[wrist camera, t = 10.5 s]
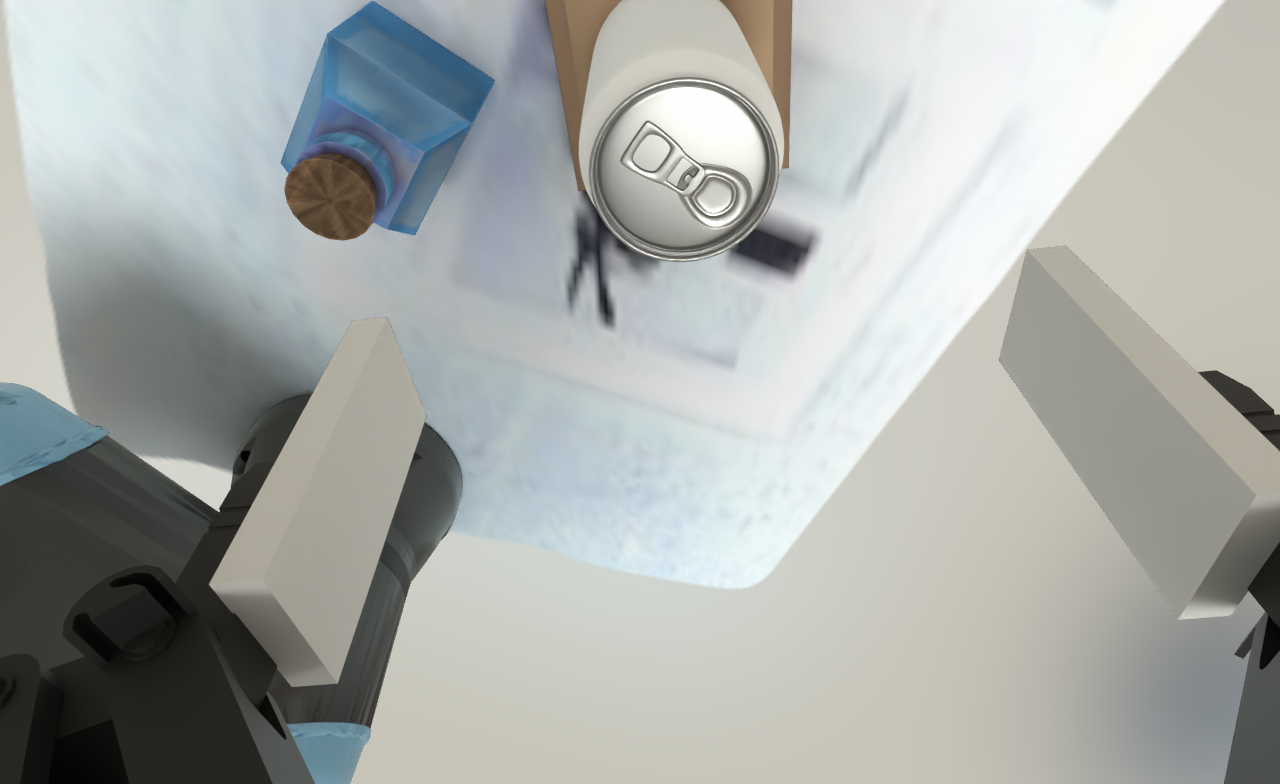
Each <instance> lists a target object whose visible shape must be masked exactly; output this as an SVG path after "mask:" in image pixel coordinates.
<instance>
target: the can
mask: <svg viewBox="0 0 1280 784" xmlns="http://www.w3.org/2000/svg"><path fill="white" fill-rule="evenodd" d="M783 156H784V135H783V127H782V122H781V117H780V114H779V111H778V108H777V105H776V102H775V100H774V98H773V95H772V93H771V91H770V89H769V86H768V84H767V82H766V80H765V78H764V76H763V74H762V72H761V70H760V68H759V65H758V63H757V61H756V59H755V57H754V55H753V53H752V51H751V49H750V47H749V45H748V43H747V41H746V39H745V37H744V35H743V33H742V31H741V29H740V27H739V25H738V24H737V22H736V20H735V19H734V17H733V15H732V14H731V12H730V11H729V10H728V9H727V7H726V6H725V5H724V4H723V3H722V2H721V1H720V0H622V1H621V2H620V3H619V4H618V5H617V6H616V7H615V8H614V9H613V10H612V11H611V13H610V14H609V16H608V17H607V19H606V20H605V22H604V24H603V25H602V27H601V30H600V32H599V34H598V37H597V40H596V43H595V47H594V52H593V56H592V62H591V67H590V73H589V78H588V84H587V90H586V96H585V102H584V108H583V114H582V121H581V128H580V137H579V162H580V169H581V174H582V179H583V182H584V185H585V188H586V190H587V193H588V195H589V197H590V199H591V201H592V202H593V204H594V206H595V207H596V209H597V211H598V213H599V215H600V217H601V219H602V220H603V222H604V223H605V225H606V226H607V227H608V229H609V230H610V231H611V232H612V233H613V234H614V235H615V236H616V237H617V238H618V239H619V240H620V241H622V242H623V243H624V244H625V245H627V246H628V247H630V248H632V249H633V250H635V251H637V252H639V253H641V254H643V255H646V256H649V257H652V258H655V259H659V260H664V261H672V262H689V261H697V260H702V259H706V258H709V257H712V256H715V255H718V254H720V253H722V252H724V251H726V250H728V249H730V248H732V247H733V246H735V245H737V244H738V243H739V242H741V241H742V240H743V239H744V238H746V237H747V236H748V235H749V234H750V233H751V232H752V231H753V230H754V229H755V228H756V227H757V225H758V224H759V223H760V222H761V220H762V219H763V217H764V216H765V214H766V213H767V211H768V209H769V207H770V205H771V203H772V200H773V198H774V195H775V192H776V188H777V184H778V178H779V175H780V172H781V168H782V163H783Z"/></svg>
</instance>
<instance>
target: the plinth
mask: <svg viewBox="0 0 1280 784" xmlns="http://www.w3.org/2000/svg"><path fill="white" fill-rule="evenodd" d="M621 1H622V0H545V3H546V9H547V14H548V20H549V26H550V32H551V37H552V43H553V49H554V54H555V60H556V66H557V72H558V77H559V83H560V89H561V95H562V100H563V106H564V112H565V117H566V123H567V129H568V135H569V140H570V146H571V152H572V158H573V163H574V169H575V175H576V180H577V186H578V191H583V190H586V188H585V185H584V182H583V179H582V174H581V169H580V162H579V137H580V128H581V121H582V114H583V108H584V102H585V96H586V90H587V84H588V78H589V73H590V67H591V62H592V56H593V52H594V47H595V43H596V40H597V37H598V34H599V32H600V30H601V27H602V25H603V24H604V22H605V20H606V19H607V17H608V16H609V14H610V13H611V11H612V10H613V9H614V8H615V7H616V6H617V5H618V4H619V3H620V2H621ZM720 1H721V2H722V3H723V4H724V5H725V6H726V7H727V9H728V10H729V11H730V12H731V14H732V15H733V17H734V19H735V20H736V22H737V24H738V25H739V27H740V29H741V31H742V33H743V35H744V37H745V39H746V41H747V43H748V45H749V47H750V49H751V51H752V53H753V55H754V57H755V59H756V61H757V63H758V65H759V68H760V70H761V72H762V74H763V76H764V78H765V80H766V82H767V84H768V86H769V89H770V91H771V93H772V95H773V98H774V100H775V102H776V105H777V108H778V111H779V114H780V117H781V122H782V127H783V135H784V156H783V163H782V168H781V169H783V168H789V125H790V78H791V30H792V0H720Z"/></svg>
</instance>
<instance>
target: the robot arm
mask: <svg viewBox="0 0 1280 784" xmlns="http://www.w3.org/2000/svg"><path fill="white" fill-rule="evenodd" d="M999 361H1000V363H1001V364H1002V366H1003V367H1004V369H1005V370H1006V371H1007V373H1008V374H1009V376H1010V377H1011V379H1012V380H1013V381H1014V383H1015V384H1016V386H1017V387H1018V389H1019V390H1020V392H1021V393H1022V394H1023V396H1024V397H1025V399H1026V400H1027V402H1028V403H1029V405H1030V406H1031V408H1032V409H1033V410H1034V412H1035V413H1036V415H1037V416H1038V418H1039V419H1040V420H1041V422H1042V423H1043V425H1044V426H1045V428H1046V429H1047V430H1048V432H1049V433H1050V435H1051V436H1052V438H1053V439H1054V441H1055V442H1056V444H1057V445H1058V447H1059V448H1060V449H1061V451H1062V452H1063V454H1064V455H1065V457H1066V458H1067V459H1068V461H1069V462H1070V464H1071V465H1072V467H1073V468H1074V470H1075V471H1076V473H1077V474H1078V475H1079V477H1080V478H1081V480H1082V481H1083V483H1084V484H1085V485H1086V487H1087V488H1088V490H1089V491H1090V493H1091V494H1092V496H1093V497H1094V499H1095V500H1096V501H1097V503H1098V504H1099V506H1100V507H1101V508H1102V510H1103V511H1104V513H1105V514H1106V516H1107V517H1108V519H1109V520H1110V522H1111V523H1112V525H1113V526H1114V527H1115V529H1116V530H1117V532H1118V533H1119V535H1120V536H1121V537H1122V539H1123V540H1124V542H1125V543H1126V545H1127V546H1128V548H1129V549H1130V551H1131V552H1132V553H1133V555H1134V556H1135V558H1136V559H1137V560H1138V562H1139V564H1140V565H1141V566H1142V568H1143V569H1144V571H1145V572H1146V574H1147V575H1148V577H1149V578H1150V579H1151V581H1152V582H1153V584H1154V585H1155V587H1156V588H1157V590H1158V591H1159V592H1160V594H1161V595H1162V597H1163V598H1164V600H1165V601H1166V602H1167V604H1168V605H1169V607H1170V608H1171V610H1172V611H1173V612H1174V614H1175V616H1176V617H1177V618H1178V619H1192V618H1204V617H1218V616H1231V615H1232V613H1233V612H1234V610H1235V609H1236V608H1237V606H1238V605H1239V603H1240V602H1241V600H1242V599H1243V597H1244V596H1245V595H1246V593H1247V592H1248V591H1249V592H1250V593H1251V594H1252V595H1253V597H1254V598H1255V599H1256V600H1257V601H1258V603H1259V604H1260V605H1261V606H1262V608H1263V609H1264V610H1265V611H1266V612H1265V613H1264V614H1263V616H1262V617H1261V618H1260V620H1259V621H1258V622H1257V624H1256V625H1255V626H1254V628H1253V629H1252V630H1251V632H1250V633H1249V634H1248V636H1247V637H1246V638H1245V639H1244V641H1243V642H1242V643H1241V645H1240V646H1239V648H1238V650H1237V651H1236V653H1235V655H1236V656H1239V657H1241V658H1244V657H1245V656H1246V654H1247V653H1248V652H1249V651H1250V649H1251V652H1250V657H1249V662H1248V667H1247V673H1246V677H1245V682H1244V687H1243V692H1242V697H1241V702H1240V707H1239V712H1238V717H1237V722H1236V727H1235V732H1234V736H1233V741H1232V746H1231V751H1230V757H1229V761H1228V766H1227V771H1226V776H1225V781H1224V784H1280V415H1275V414H1274V409H1272V408H1271V407H1270V406H1269V405H1268V404H1267V403H1266V402H1265V401H1264V400H1262V399H1261V398H1260V397H1259V396H1258V395H1257V394H1256V393H1255V392H1254V391H1253V390H1252V389H1250V388H1249V387H1247V386H1244V385H1243V384H1241V383H1239V382H1237V381H1235V380H1234V379H1231V378H1230V377H1228V376H1226V375H1224V374H1222V373H1220V372H1218V371H1205V372H1197V371H1196V370H1195V369H1194V368H1193V367H1192V366H1191V365H1190V364H1189V363H1188V362H1187V361H1186V360H1184V359H1183V358H1182V357H1181V356H1180V355H1179V354H1178V353H1177V352H1176V351H1175V350H1174V349H1173V348H1172V347H1171V346H1170V345H1169V344H1168V343H1167V342H1166V341H1165V340H1164V339H1163V338H1162V337H1160V335H1159V334H1157V333H1156V332H1155V331H1154V330H1153V329H1152V328H1151V327H1150V326H1149V325H1148V324H1147V323H1146V322H1145V321H1144V320H1143V319H1142V318H1141V317H1140V316H1139V315H1138V314H1137V313H1136V312H1135V311H1134V310H1133V309H1131V307H1129V306H1128V305H1127V304H1126V303H1125V302H1124V301H1123V300H1122V299H1121V298H1120V297H1119V296H1118V295H1117V294H1116V293H1115V292H1114V291H1113V290H1112V289H1111V288H1110V287H1109V286H1108V285H1107V284H1106V283H1104V281H1103V280H1101V279H1100V278H1099V277H1098V276H1097V275H1096V274H1095V273H1094V272H1093V271H1092V270H1091V269H1090V268H1089V267H1088V266H1087V265H1086V264H1085V263H1084V262H1083V261H1082V260H1081V259H1080V258H1079V257H1078V256H1077V255H1076V254H1075V253H1073V252H1072V251H1071V250H1070V249H1069V248H1068V247H1067V246H1056V247H1047V248H1037V249H1027V251H1026V255H1025V259H1024V263H1023V266H1022V271H1021V274H1020V278H1019V282H1018V286H1017V290H1016V294H1015V298H1014V302H1013V306H1012V310H1011V314H1010V317H1009V321H1008V325H1007V329H1006V333H1005V337H1004V341H1003V345H1002V349H1001V353H1000V357H999ZM425 419H426V413H425V411H424V408H423V406H422V403H421V400H420V398H419V395H418V393H417V390H416V388H415V385H414V383H413V380H412V378H411V375H410V373H409V370H408V368H407V365H406V363H405V360H404V358H403V355H402V353H401V350H400V348H399V345H398V342H397V340H396V337H395V335H394V332H393V330H392V327H391V325H390V322H389V320H388V317H384V318H375V319H366V320H356V321H352V322H351V324H350V326H349V328H348V329H347V331H346V333H345V335H344V337H343V339H342V340H341V342H340V344H339V346H338V348H337V350H336V351H335V353H334V355H333V357H332V359H331V361H330V363H329V364H328V366H327V368H326V370H325V372H324V374H323V375H322V377H321V379H320V381H319V383H318V385H317V386H316V388H315V390H314V392H313V394H311V395H304V396H299V397H295V398H292V399H289V400H286V401H283V402H281V403H279V404H277V405H275V406H273V407H271V408H270V409H268V410H267V411H266V412H264V413H263V414H262V415H261V416H260V417H259V418H258V419H257V420H256V422H255V423H254V424H253V426H252V428H251V429H250V431H249V433H248V434H247V436H246V437H245V439H244V441H243V442H242V444H241V446H240V448H239V450H238V452H237V455H236V458H235V461H234V467H233V477H232V483H231V490H230V491H229V493H228V494H227V496H226V498H225V500H224V501H223V503H222V505H221V506H220V508H219V509H220V512H218V511H216V510H215V509H213V508H212V507H210V506H209V505H207V504H206V503H204V502H203V501H202V500H200V499H199V498H197V497H196V496H194V495H193V494H191V493H190V492H188V491H187V490H186V489H184V488H183V487H181V486H180V485H178V484H177V483H175V482H174V481H173V480H171V479H170V478H168V477H166V476H165V475H164V474H162V473H161V472H159V471H158V470H157V469H155V468H154V467H152V466H151V465H149V464H148V463H146V462H145V461H143V460H142V459H141V458H139V457H138V456H136V455H135V454H133V453H132V452H130V451H129V450H128V449H126V448H125V447H123V446H122V445H120V444H119V443H117V442H116V441H114V440H113V439H112V438H110V437H109V436H107V435H108V434H109V431H108V430H106V429H105V428H104V427H102V426H92V425H90V424H89V423H87V422H86V421H84V420H82V419H81V418H79V417H78V416H76V415H74V414H73V413H71V412H69V411H68V410H66V409H65V408H63V407H61V406H60V405H58V404H57V403H55V402H53V401H52V400H50V399H48V398H47V397H45V396H44V395H42V394H40V393H39V392H37V391H35V390H33V389H31V388H28V387H25V386H22V385H18V384H13V383H0V784H350V783H351V780H352V777H353V774H354V772H355V769H356V766H357V763H358V760H359V758H360V755H361V752H362V750H363V747H364V745H365V744H366V743H367V742H368V740H369V738H370V731H371V730H370V728H371V724H372V720H373V717H374V713H375V709H376V706H377V702H378V698H379V695H380V691H381V687H382V684H383V680H384V677H385V673H386V669H387V666H388V662H389V658H390V655H391V651H392V647H393V643H394V640H395V636H396V633H397V629H398V626H399V621H400V618H401V614H402V611H403V607H404V603H405V600H406V597H407V593H408V590H409V587H410V584H411V581H412V580H413V579H414V578H415V576H416V575H417V573H418V572H419V571H420V569H421V568H422V566H423V565H424V564H425V562H426V561H427V560H428V558H429V557H430V555H431V554H432V553H433V551H434V550H435V548H436V547H437V545H438V544H439V542H440V541H441V540H442V539H443V538H444V537H445V536H446V534H447V533H448V531H449V530H450V528H451V526H452V524H453V522H454V519H455V516H456V513H457V509H458V505H459V501H460V497H461V493H462V476H461V472H460V468H459V465H458V463H457V461H456V459H455V457H454V455H453V453H452V452H451V450H450V449H449V448H448V446H447V445H446V444H445V443H444V441H443V440H442V439H441V438H440V437H439V436H438V435H437V434H436V433H435V432H434V431H432V430H431V429H430V428H429V427H427V426H426V425H425V424H424V422H425Z"/></svg>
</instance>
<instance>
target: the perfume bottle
mask: <svg viewBox="0 0 1280 784" xmlns="http://www.w3.org/2000/svg"><path fill="white" fill-rule="evenodd" d="M494 81H495V80H494V79H492V78H491V77H489V76H488V75H486V74H485V73H483V72H482V71H480V70H478V69H477V68H475V67H474V66H472V65H471V64H469V63H468V62H466V61H465V60H463V59H462V58H460V57H458V56H457V55H455V54H454V53H452V52H451V51H449V50H448V49H446V48H445V47H443V46H442V45H440V44H438V43H437V42H435V41H434V40H432V39H431V38H429V37H428V36H426V35H425V34H423V33H422V32H420V31H418V30H417V29H415V28H414V27H412V26H411V25H409V24H408V23H406V22H405V21H403V20H402V19H400V18H398V17H397V16H395V15H394V14H392V13H391V12H389V11H388V10H386V9H385V8H383V7H382V6H380V5H379V4H377V3H375V2H374V1H372V2H370V3H369V4H368V5H366V6H365V7H363V8H362V9H361V10H359V11H358V12H357V13H355V14H354V15H352V16H351V17H350V18H348V19H347V20H346V21H344V22H343V23H341V24H340V25H339V26H337V27H336V28H335V29H333V30H332V31H330V32H329V33H328V34H327V36H326V39H325V42H324V45H323V47H322V50H321V53H320V56H319V58H318V61H317V64H316V67H315V69H314V72H313V75H312V78H311V80H310V83H309V86H308V89H307V91H306V94H305V97H304V100H303V102H302V105H301V108H300V111H299V113H298V116H297V119H296V122H295V125H294V127H293V130H292V133H291V136H290V138H289V141H288V144H287V147H286V149H285V152H284V155H283V158H282V160H281V164H282V165H283V167H284V168H285V169H286V171H287V172H288V173H289V174H288V176H287V178H286V183H285V195H286V200H287V203H288V205H289V207H290V209H291V211H292V213H293V214H294V216H295V217H296V218H297V219H298V220H299V221H300V222H301V223H302V224H303V225H304V226H305V227H306V228H308V229H309V230H311V231H312V232H314V233H315V234H317V235H320V236H323V237H325V238H328V239H334V240H348V239H354V238H356V237H358V236H360V235H362V234H363V233H365V232H366V231H367V229H368V228H369V227H370V225H371V224H372V223H376V224H378V225H380V226H381V227H383V228H385V229H388V230H393V231H397V232H402V233H407V234H412V235H415V234H416V232H417V230H418V228H419V226H420V224H421V222H422V220H423V218H424V216H425V214H426V213H427V211H428V209H429V207H430V205H431V203H432V201H433V199H434V197H435V195H436V193H437V191H438V189H439V187H440V186H441V184H442V182H443V180H444V178H445V176H446V174H447V172H448V170H449V168H450V166H451V164H452V162H453V160H454V159H455V157H456V155H457V153H458V151H459V149H460V147H461V145H462V143H463V141H464V139H465V137H466V135H467V133H468V132H469V130H470V128H471V126H472V124H473V122H474V120H475V118H476V116H477V114H478V112H479V110H480V108H481V106H482V104H483V103H484V101H485V99H486V97H487V95H488V93H489V91H490V89H491V87H492V85H493V83H494Z"/></svg>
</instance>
